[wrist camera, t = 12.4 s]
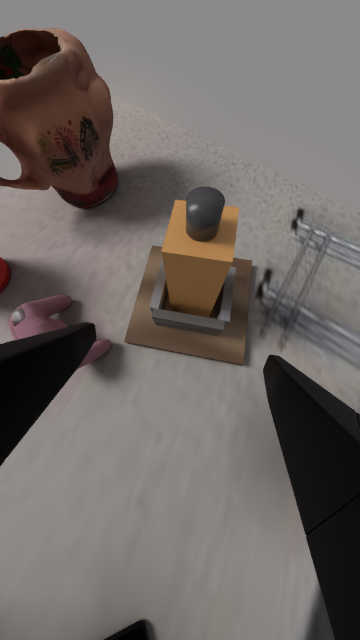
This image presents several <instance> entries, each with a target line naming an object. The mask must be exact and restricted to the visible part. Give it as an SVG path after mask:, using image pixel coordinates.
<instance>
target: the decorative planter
mask: <svg viewBox="0 0 360 640" xmlns="http://www.w3.org/2000/svg"><path fill="white" fill-rule="evenodd" d="M112 127H113V110H112V104H111V96H110V91H109V88H108V86H107V84H106V83H105V81H104V80H103V79H102V78H101V77H100V76H99V75H98V74H97V73H96V71H95V68H94V66H93V64H92V61H91V59H90V57H89V55H88V53H87V51H86V49H85V48H84V46H83V44H82V43H81V42H80V41H79V40H78V39H77V38H76V37H74V36H73V35H71V34H70V33H68V32H66V31H64V30H61V29H56V28H52V29H21V30H18V31H15V32H13V33H10V34H8V35H6V36H3V37H0V142H2V143H3V144H5V145H6V146H7V147H9V149H10V150H11V151H12V152H13V153H14V154H15V156H16V157H17V158H18V160H19V162H20V164H21V168H22V173H21V176H20V178H18V179H16V180H6V179H3V178H0V186H8V187H13V188H20V189H33V190H48V189H49V187H50V186H51V185H52V187H53V188H54V189H55V190H56V191H57V192H58V194H59V195H60V196H61V198H62V199H63V200H65V201H66V202H68V203H70V204H72V205H74V206H77V207H92V206H94V205H97V204H99V203H101V202H103V201H104V200H106V199H107V198H108V197H109V196H110V195H111V194H112V193H113V191H114V190H115V189H116V188H117V186H118V175H117V172H116V169H115V166H114V163H113V160H112V158H111V154H110V149H109V142H110V136H111V131H112Z"/></svg>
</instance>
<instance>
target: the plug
mask: <svg viewBox="0 0 360 640" xmlns="http://www.w3.org/2000/svg"><path fill="white" fill-rule="evenodd" d="M224 204H225V199H224V196H223V194H222V193H221V192H220V191H218V190H217V189H214V188H211V187H199V188H196V189H194V190H192V191H191V192H190V193H189V194H188V196H187V198H186V201H182V200H175V203H174V206H173V210H172V214H171V218H170V221H169V225H168V229H167V232H166V236H165V240H164V244H163V247H162V251H161V252H162V258H163V264H164V270H165V275H166V281H167V287H168V293H169V298H170V304H171V310H172V311H173V312H179V313H185V314H190V315H196V316H201V317H207V318H209V315H210V313H211V311H212V309H213V306H214V304H215V302H216V299H217V297H218V295H219V292H220V290H221V288H222V286H223V283H224V281H225V279H226V276H227V274H228V272H229V269H230V267H231V265H232V262H233V255H234V246H235V238H236V229H237V221H238V213H239V208H237V207H229V206H224Z"/></svg>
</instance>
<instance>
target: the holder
mask: <svg viewBox="0 0 360 640" xmlns="http://www.w3.org/2000/svg"><path fill="white" fill-rule="evenodd" d="M161 251H162V247H159V246H152V248H151V252H150V255H149V259H148V262H147V265H146V269H145V272H144V276H143V279H142V282H141V286H140V289H139V293H138V296H137V299H136V303H135V306H134V310H133V313H132V316H131V320H130V323H129V327H128V330H127V333H126V337H125V340H124V342H126V343H130V344H135V345H140V346H145V347H150V348H155V349H160V350H166V351H171V352H176V353H181V354H186V355H191V356H196V357H201V358H207V359H212V360H217V361H222V362H227V363H232V364H237V365H243V364H244V352H245V340H246V328H247V316H248V304H249V292H250V280H251V268H252V261H251V260H245V259H238V258H233V262H232V265H231V267H230V269H229V272H228V274H227V276H226V279H225V281H224V283H223V286H222V288H221V290H220V292H219V295H218V297H217V299H216V302H215V304H214V306H213V309H212V311H211V313H210V315H209V318H207V317H201V316H196V315H190V314H185V313H179V312H173V311H172V310H171V304H170V298H169V293H168V287H167V281H166V275H165V270H164V264H163V258H162V252H161Z"/></svg>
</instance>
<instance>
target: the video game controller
mask: <svg viewBox="0 0 360 640" xmlns="http://www.w3.org/2000/svg"><path fill="white" fill-rule="evenodd" d="M71 302H72V299H71V297H69V296H67V295H55V296H51V297H47V298H44V299H40V300H35V301H31V302H27V303H24V304H22V305H21V306H19V307H18V308H17V309H15V310H14V311H13V312H12V314H11V316H10V318H9V320H8V324H9V326H10V331H11V334H12V336H13V338H14V340H18V339H22V338H26V337H30V336H34V335H38V334H41V333H45V332H49V331H53V330H57V329H61V328H65V327H68V326H67V325H66V324H65V323H64V322H62V321H59V320H55V319H51V318H49V317H50V316H51V315H53V314H55V313H57V312H60V311H62V310H63V309H65V308H66V307H68V306H69V305H70V304H71ZM110 347H111V341H110V340H99V341H97V342H94V344H93V346H92V347H91V349H90V350H89V352H88V354H87V355H86V357H85V358H84V360H83V361H82V363H81V364H80V366H79V367H78V368H80V367H82V366H84V365H86V364H88V363H90V362H92V361H94V360H96V359H97V358H99V357H100V356H102V355H103V354H104V353H105V352H107V351H108V350H109V349H110ZM78 368H77V369H78Z"/></svg>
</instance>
